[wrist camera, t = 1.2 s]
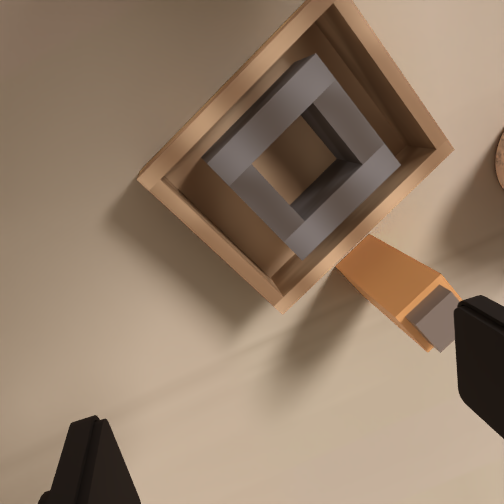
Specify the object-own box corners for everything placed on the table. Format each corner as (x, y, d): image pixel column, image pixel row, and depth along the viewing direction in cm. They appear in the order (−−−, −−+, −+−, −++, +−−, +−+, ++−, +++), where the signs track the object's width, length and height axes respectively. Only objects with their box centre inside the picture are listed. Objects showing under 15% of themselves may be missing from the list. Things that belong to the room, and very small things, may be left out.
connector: (369, 233, 36) (453, 280, 26) (394, 263, 38) (484, 319, 27) (335, 266, 36) (405, 325, 26) (362, 294, 38) (438, 362, 27)
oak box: (307, -2, 30) (338, -27, 25) (414, 145, 35) (459, 150, 29) (140, 170, 31) (136, 180, 26) (266, 289, 36) (284, 317, 31)
